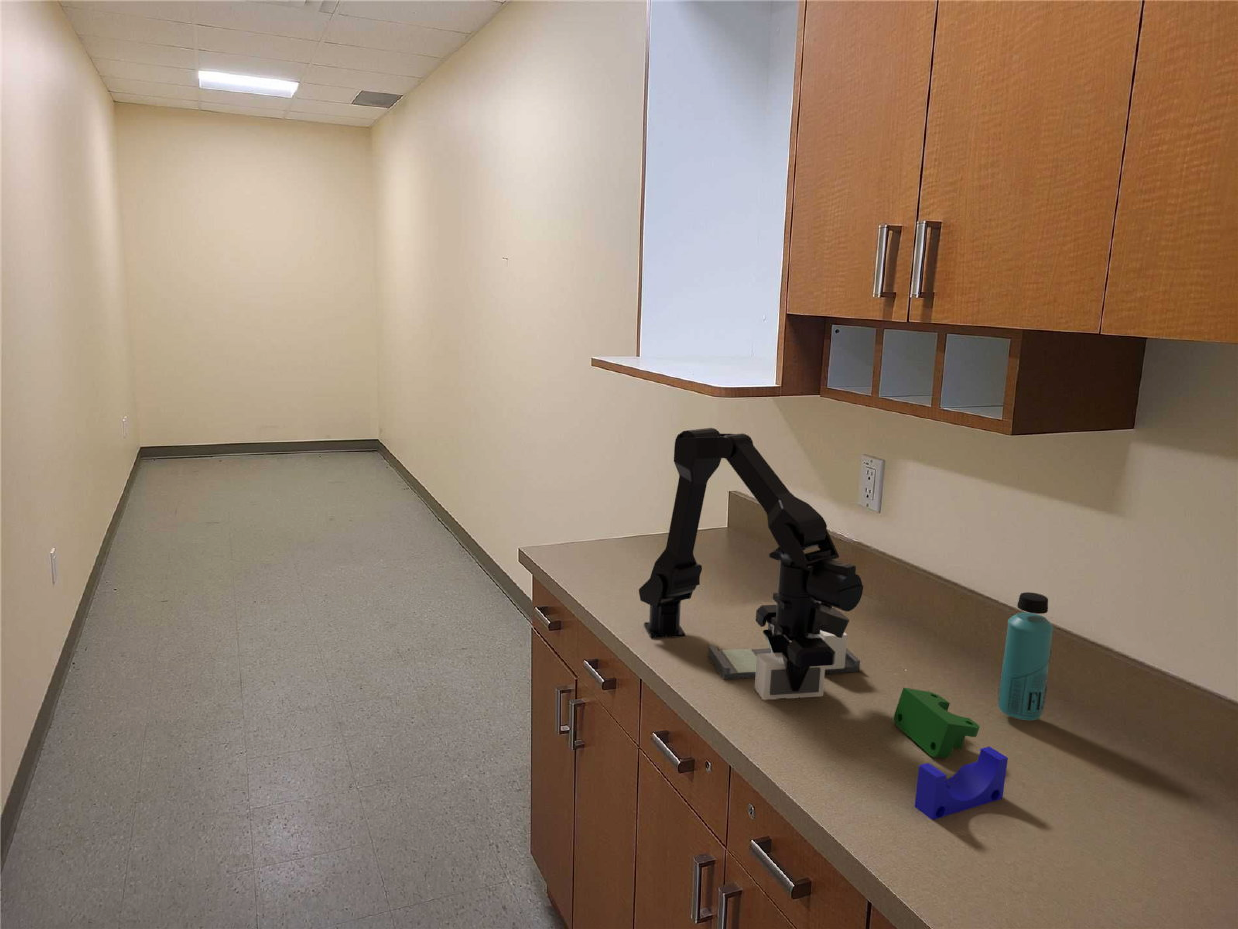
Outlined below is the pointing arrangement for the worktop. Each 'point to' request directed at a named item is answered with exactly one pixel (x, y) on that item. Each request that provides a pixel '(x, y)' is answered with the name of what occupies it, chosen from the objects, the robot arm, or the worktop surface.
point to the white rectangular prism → (785, 679)
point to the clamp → (932, 722)
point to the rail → (744, 662)
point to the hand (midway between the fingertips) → (789, 684)
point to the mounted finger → (834, 648)
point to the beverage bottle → (1026, 659)
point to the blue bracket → (961, 785)
